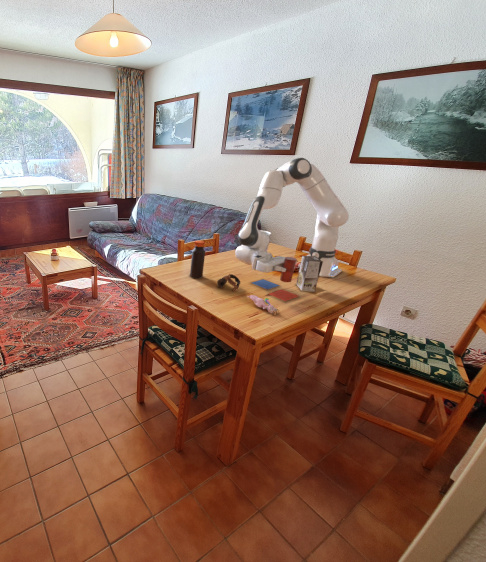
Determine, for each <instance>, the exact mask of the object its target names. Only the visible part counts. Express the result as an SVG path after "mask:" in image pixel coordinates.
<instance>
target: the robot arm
mask: <svg viewBox="0 0 486 562" xmlns="http://www.w3.org/2000/svg"><path fill="white" fill-rule="evenodd" d="M295 183H297V184H298V185H299V187H300V189H301V191H302V192H303V194H304V195H305V197H306V198H307V200H308V201H309V203H310V204H311V206H312V207H313V208H314V210H315V212H316V214H317V215H316V220H315V230H314V235H313V239H312V245H311V246H310V248H309V252H308V254H307V255H306V256H316V257H317V258H319V259H320V260H321V261H323V263H322V267H321V271H320V274H319V277H322V278H323V277H324V278H325V277H327V278H335V277H337V276H338V275H339V274H341V273H342V271H343V270H342V269H341V268H339V264H340V261H339V260H338V258H337V257H336V254H337V253H338V252H339V249H336V246H337V243H338V240H339V229H340V227H341V226H344V225H345V224H346V223H347V222H348V220H349V216H350V215H349V212H348V209H347V208H346V207H345V205H344V204H343V202H342V201H341V200H340V198H339V197H338V196H337V194H336V193H335V192H334V191H333V189H332V188H331V186H330V184H329V183H328V181H327V179H326V178H325V176H324V174H322V172H321V171H320V170H319V168H317V166H315V164H313V163H311V162H310V161H309V160H308V159H307V158H304V157H296V158H294V159H292V160H290V161H287V162H285V163H284V164H282V165H281V166H279V167H277V168H275V169H272V170H268V171H266V172H265V174H264V175H263V177H262V179H261V182H260V185H259V189H258V190H257V195H256V197H255V198H253V200H252V201H251V204H250V205H249V206H250V207H249V209H248V211H247V214H246V217H245V220H244V222H243V224H242V226H241V228H240V229H239V231H238V234H237V241H238V243H239V244H240V245H239V246H237V248H236V249H235V251H234V253H235V254H234V255H235V258H236V259H237V260H238V261H240V262H241V263H243V264H246V265H249V266H251V270H253V271H257V272H260V273H265V274H268V273H269V274H270V273H271V272H281V273H282V272H286V271H287V268H285V267H283V264H284V259H285V257H286V256H282V255H281V256H280V255H277V256H273V254H272V252H271V253H270V252H268V251H267V252H265V250H266V249H267V247H268V248H269V245H270V243H271V242H270V241H271V237H270V238H269V236H268V235H267V234H265V233H264V232H262V231H260V230H261V229H259V228H258V224H259V220H260V219H261V215H262V214H263V211H265V210H270V209H272V208H276V206H277V205H278V204H279V203H280V200H281V197H282V192H283V188H285V187H287V186H290V185H294V184H295ZM295 269H296V267H295V268H294V270H295Z"/></svg>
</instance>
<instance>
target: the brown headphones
mask: <svg viewBox="0 0 486 562" xmlns="http://www.w3.org/2000/svg"><path fill="white" fill-rule="evenodd" d="M233 279H234V280H233ZM227 283H228V284H230V285H231V286H232V287H233V288H232V291H233V292H236V291H237V290H239V288H240V285H241V280H240V279H239V278H238V277H237V276H236V275H234V274H232V273H229V274H227V275H224V276H223V277H221V278H219V279H218V280H217V286H218V287H217V288H220V289H223V288H224V286H225V285H226V284H227Z"/></svg>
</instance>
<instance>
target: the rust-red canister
mask: <svg viewBox="0 0 486 562" xmlns="http://www.w3.org/2000/svg"><path fill="white" fill-rule="evenodd" d="M284 257H285V259H284V264H283V267H285V268H287V271H286V272H282V271H281V273H280V278H279V281H281V282H283V283H291V282H292V280H293V276H294V271H295V269H296V263H297V258H296V257H293V256H284ZM294 268H295V269H294Z"/></svg>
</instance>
